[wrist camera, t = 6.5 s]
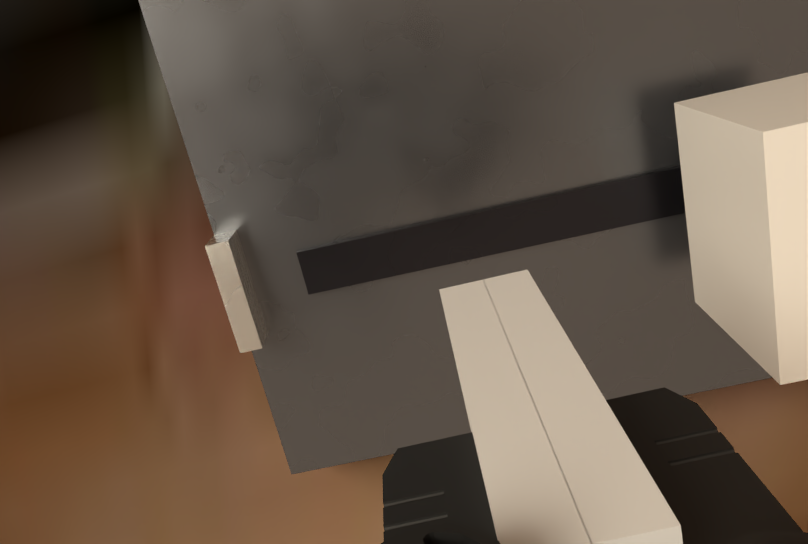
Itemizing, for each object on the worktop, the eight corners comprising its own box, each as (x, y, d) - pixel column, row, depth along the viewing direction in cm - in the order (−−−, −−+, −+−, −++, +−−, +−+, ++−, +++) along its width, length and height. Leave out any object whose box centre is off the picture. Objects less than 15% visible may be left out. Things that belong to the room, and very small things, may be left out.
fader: (680, 288, 20) (779, 385, 15) (659, 98, 18) (762, 131, 13) (796, 263, 19) (938, 353, 14) (784, 69, 18) (941, 92, 13)
